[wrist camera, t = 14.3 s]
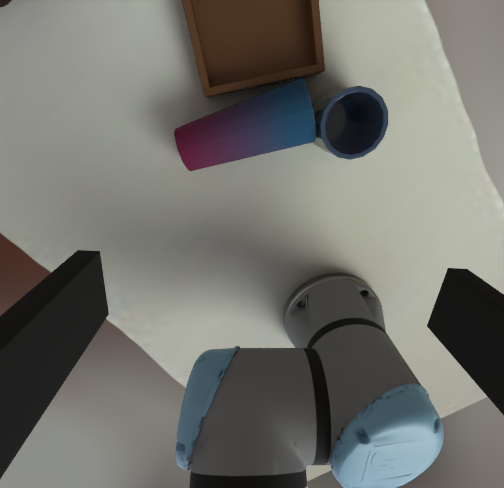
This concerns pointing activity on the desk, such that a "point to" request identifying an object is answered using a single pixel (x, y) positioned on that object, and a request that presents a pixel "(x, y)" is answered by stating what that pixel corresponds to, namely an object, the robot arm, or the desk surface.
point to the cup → (249, 128)
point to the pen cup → (350, 121)
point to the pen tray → (254, 42)
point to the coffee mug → (4, 2)
